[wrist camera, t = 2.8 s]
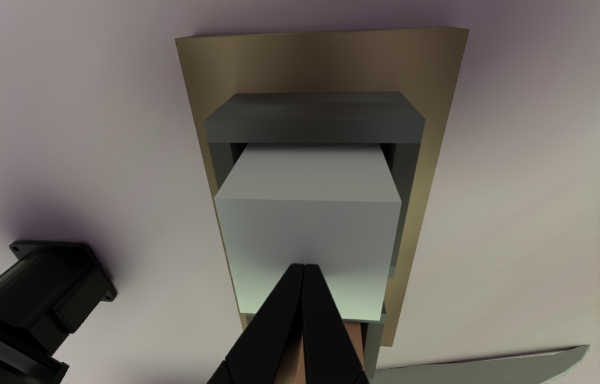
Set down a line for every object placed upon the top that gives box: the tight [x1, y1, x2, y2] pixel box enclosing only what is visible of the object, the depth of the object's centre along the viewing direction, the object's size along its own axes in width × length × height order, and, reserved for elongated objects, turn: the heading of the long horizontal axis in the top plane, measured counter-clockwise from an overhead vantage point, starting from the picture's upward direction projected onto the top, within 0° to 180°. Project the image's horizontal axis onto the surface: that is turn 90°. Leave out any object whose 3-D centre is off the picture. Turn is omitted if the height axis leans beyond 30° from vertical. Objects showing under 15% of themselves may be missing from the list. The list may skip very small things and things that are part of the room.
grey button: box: [214, 143, 402, 321], centre depth 11 cm, size 5×5×4 cm
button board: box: [175, 27, 469, 384], centre depth 17 cm, size 12×22×6 cm, turn 2°
